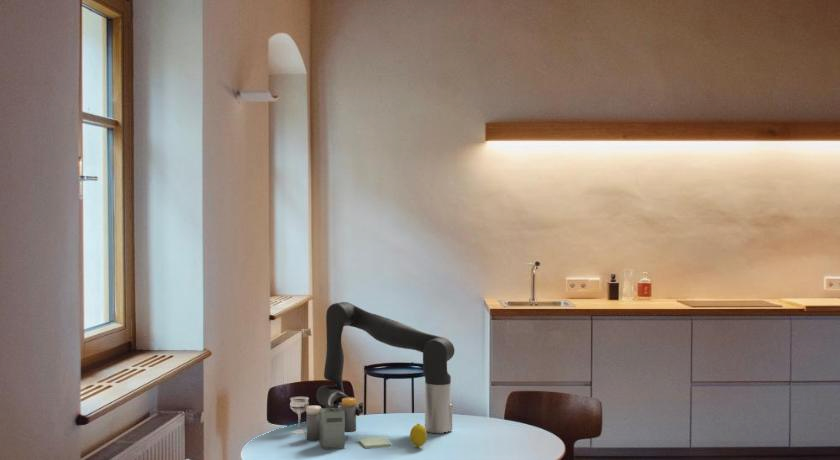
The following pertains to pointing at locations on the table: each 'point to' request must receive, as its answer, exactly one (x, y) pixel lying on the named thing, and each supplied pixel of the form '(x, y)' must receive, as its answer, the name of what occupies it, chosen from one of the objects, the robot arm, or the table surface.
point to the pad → (374, 442)
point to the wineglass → (299, 409)
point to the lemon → (418, 435)
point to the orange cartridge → (349, 413)
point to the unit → (332, 428)
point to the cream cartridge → (313, 423)
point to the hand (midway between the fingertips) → (351, 413)
